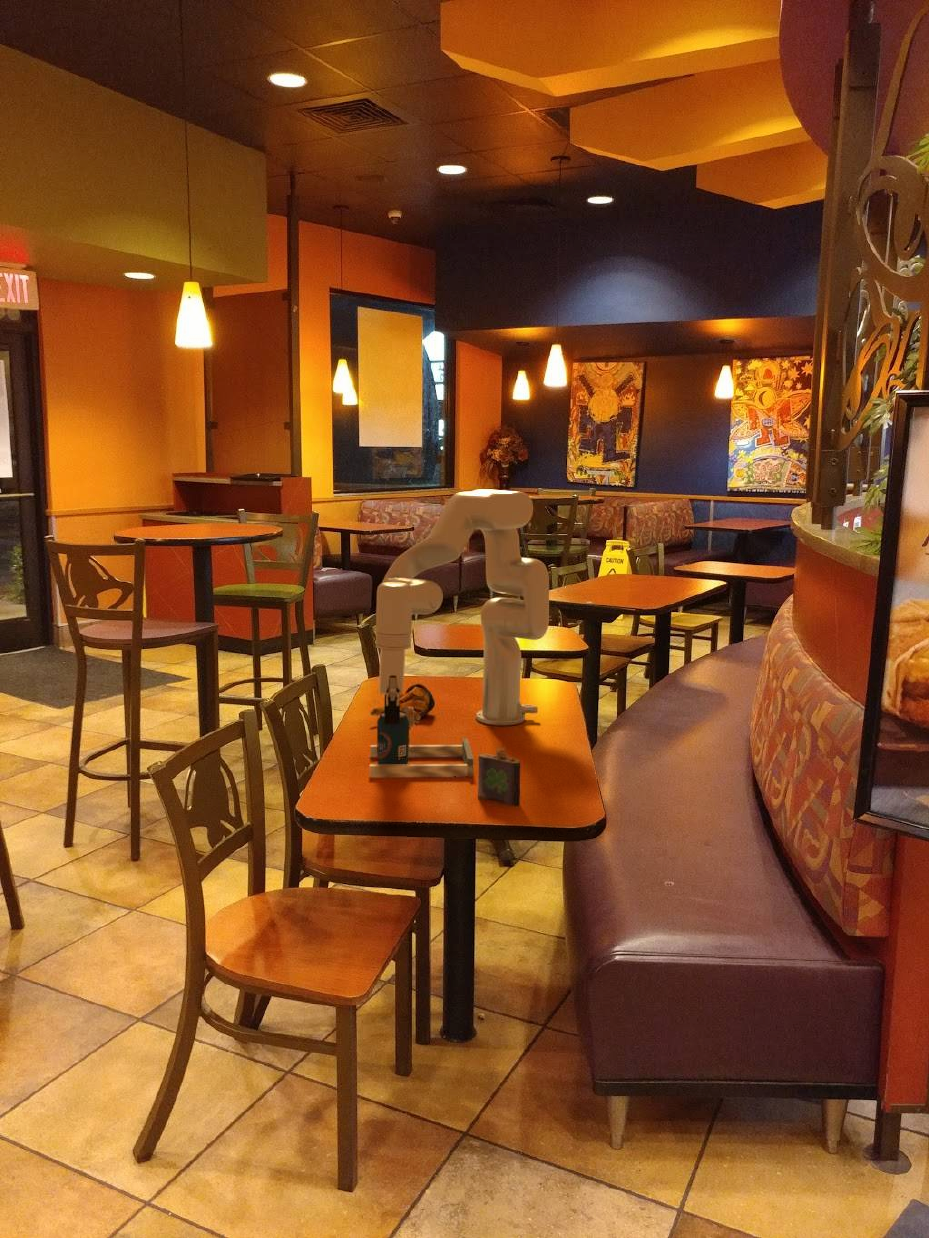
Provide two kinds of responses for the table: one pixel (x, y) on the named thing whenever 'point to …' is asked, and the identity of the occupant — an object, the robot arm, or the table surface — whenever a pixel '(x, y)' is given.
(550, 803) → the table surface
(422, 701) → the fried shrimp in bowl
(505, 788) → the flask
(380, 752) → the soda can
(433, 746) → the guide track
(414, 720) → the lion figurine
